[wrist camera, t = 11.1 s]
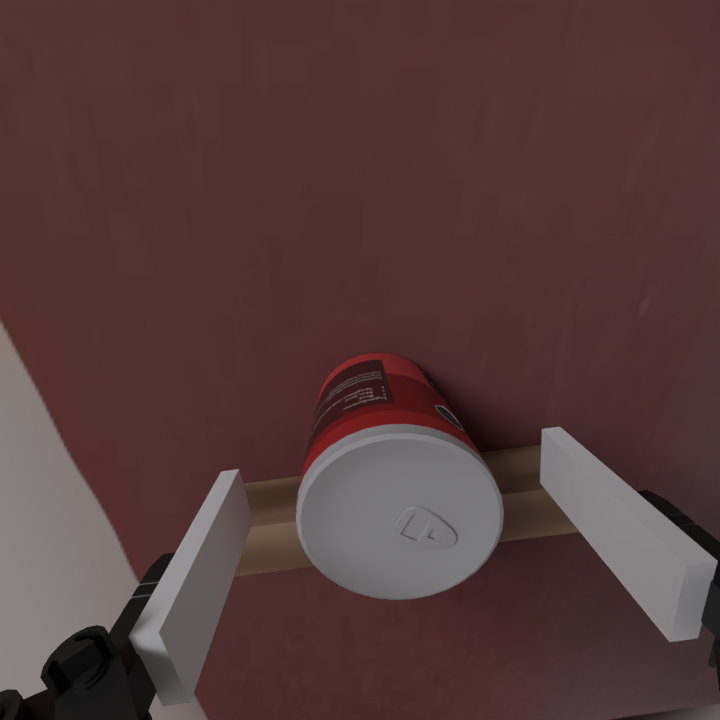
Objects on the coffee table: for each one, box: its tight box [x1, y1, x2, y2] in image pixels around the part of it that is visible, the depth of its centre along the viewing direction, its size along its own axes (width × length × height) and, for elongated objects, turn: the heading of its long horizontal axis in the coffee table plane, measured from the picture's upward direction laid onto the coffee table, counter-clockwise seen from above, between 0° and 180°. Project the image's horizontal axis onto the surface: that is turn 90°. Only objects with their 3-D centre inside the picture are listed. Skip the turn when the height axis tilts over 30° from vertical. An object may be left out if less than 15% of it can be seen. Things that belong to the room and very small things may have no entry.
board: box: [234, 444, 580, 577], centre depth 23 cm, size 4×24×4 cm, turn 97°
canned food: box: [296, 353, 504, 600], centre depth 18 cm, size 8×8×11 cm
